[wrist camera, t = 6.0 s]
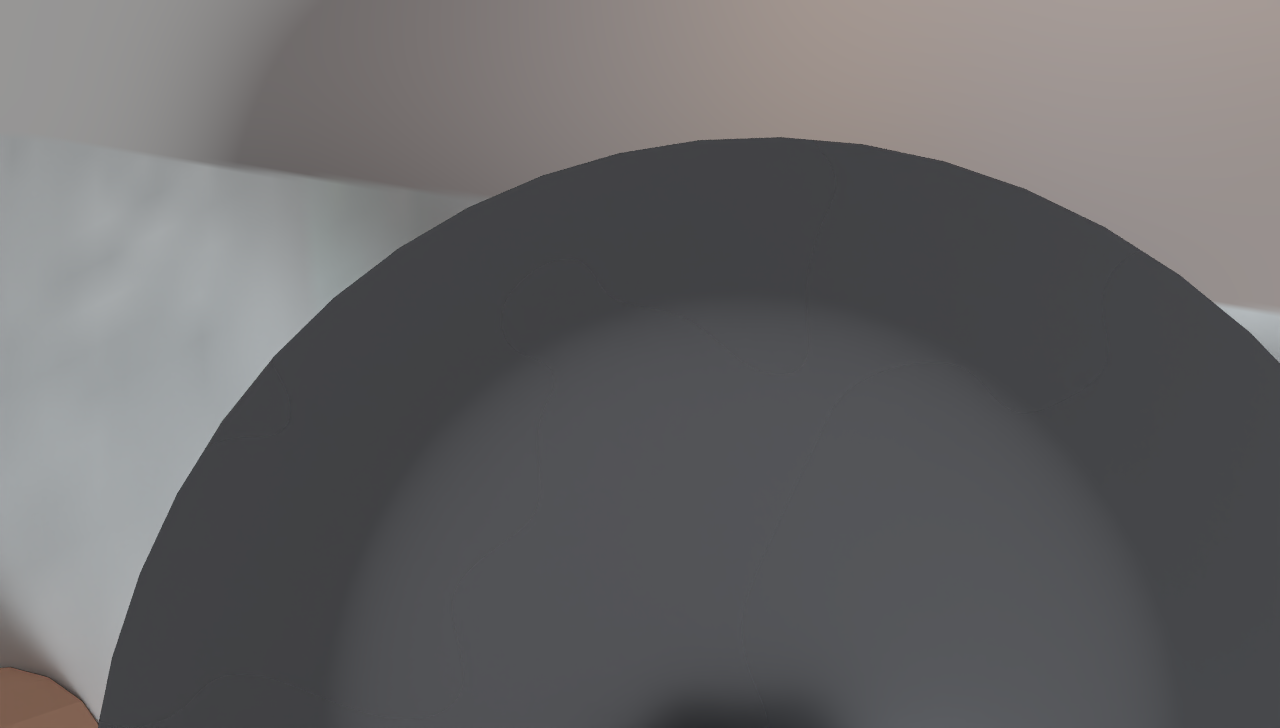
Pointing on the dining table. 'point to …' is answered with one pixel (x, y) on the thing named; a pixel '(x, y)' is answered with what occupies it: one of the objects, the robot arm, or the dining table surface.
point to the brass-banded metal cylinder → (734, 472)
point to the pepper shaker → (39, 703)
